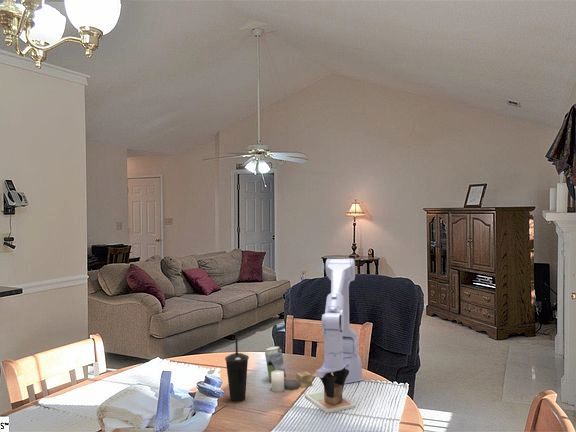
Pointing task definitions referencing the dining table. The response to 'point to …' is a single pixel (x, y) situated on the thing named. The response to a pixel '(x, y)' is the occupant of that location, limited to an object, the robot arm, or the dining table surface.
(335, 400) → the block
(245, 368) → the drinking cup
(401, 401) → the dining table surface
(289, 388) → the rubber puck
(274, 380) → the ceramic cylinder
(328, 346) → the robot arm
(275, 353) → the beverage can
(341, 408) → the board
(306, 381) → the oak cube
